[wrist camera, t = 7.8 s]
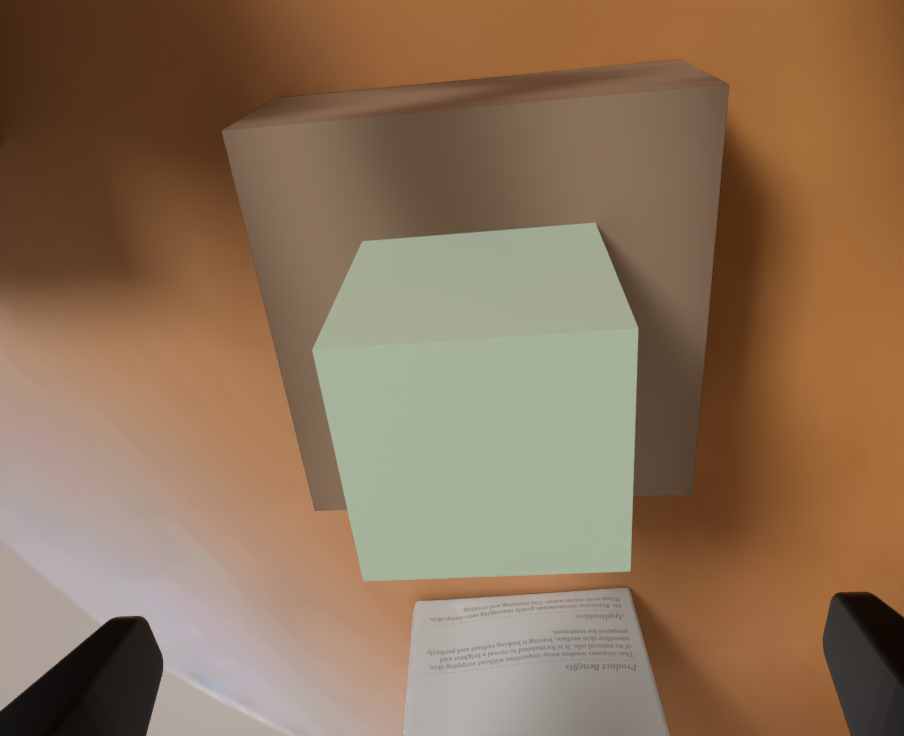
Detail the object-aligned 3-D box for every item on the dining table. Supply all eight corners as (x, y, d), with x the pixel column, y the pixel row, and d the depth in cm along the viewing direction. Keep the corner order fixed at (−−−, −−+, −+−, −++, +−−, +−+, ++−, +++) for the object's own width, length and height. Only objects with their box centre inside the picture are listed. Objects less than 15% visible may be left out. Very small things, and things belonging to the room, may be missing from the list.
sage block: (595, 222, 15) (638, 328, 11) (595, 420, 17) (630, 571, 13) (362, 241, 15) (312, 350, 11) (394, 431, 18) (363, 581, 14)
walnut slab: (680, 59, 17) (729, 84, 14) (660, 410, 22) (692, 494, 18) (273, 98, 18) (221, 131, 14) (341, 427, 23) (314, 510, 19)
